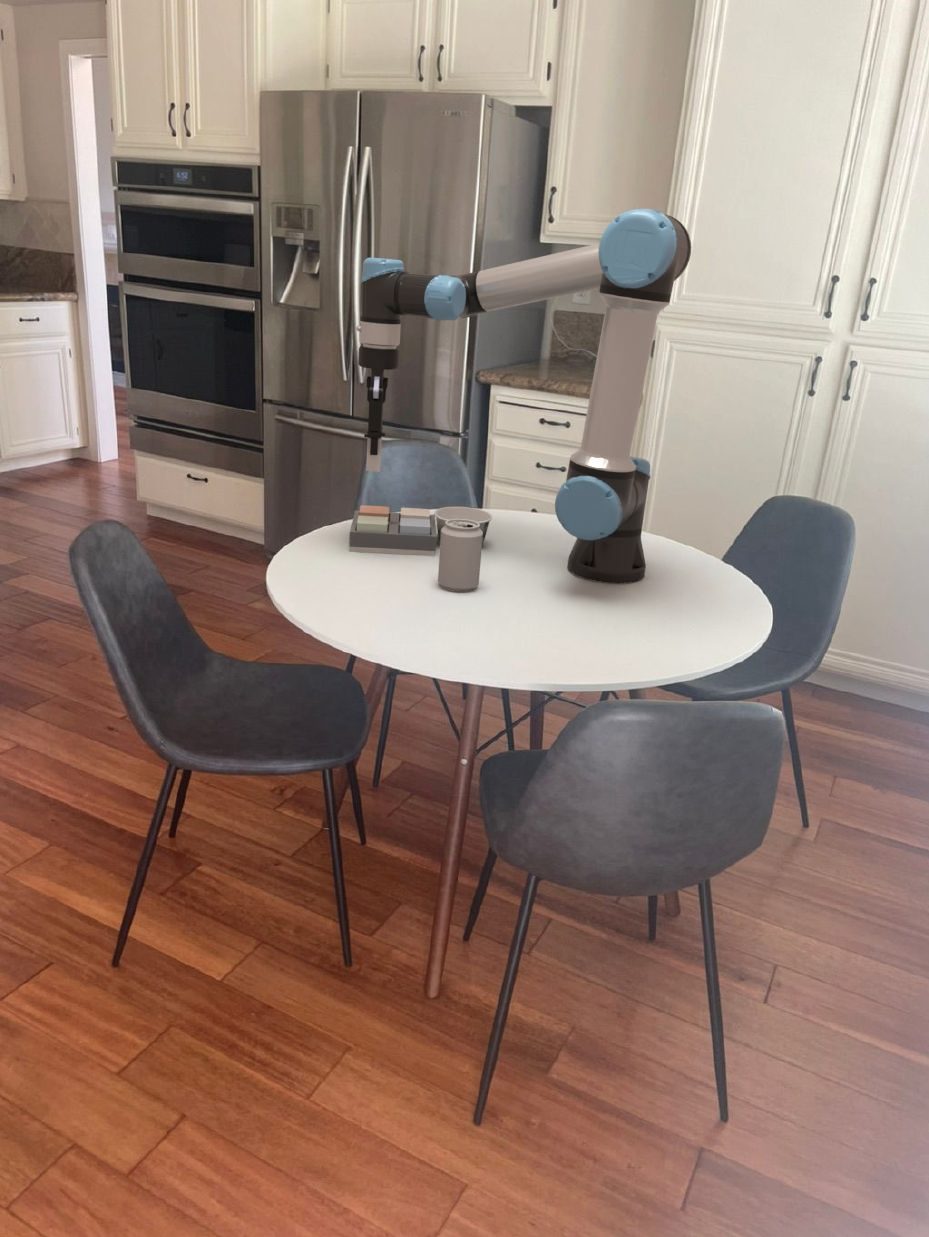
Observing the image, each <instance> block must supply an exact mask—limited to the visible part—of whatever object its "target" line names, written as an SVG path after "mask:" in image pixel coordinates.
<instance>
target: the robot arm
mask: <svg viewBox="0 0 929 1237" xmlns="http://www.w3.org/2000/svg"><path fill="white" fill-rule="evenodd" d="M691 255H692V241H691V238H690V234H689V232H688V230H687V228H686V227H685V225H684V224H683V223H682V222H681V221H679V219H678V218H675V217H674V216H671V215H668V214H665V213H663V212H661V211H659V210H655V209H652V208H636V209H635V208H634V209H631V210H630V209H629V210H627V211H625V212H623V213H621V214H619V215H618V216H616V217H615V218H614V219H612V220H611V222H609V224H608V225H607V226H606V228H605V230H604V232H603V233H602V235H601V237H600V240H599V243H594V244H590V245H587V246H583V247H582V246H581V247H577V248H574V249H572V248H571V249H569V250H565V251H559V252H556V253H555V252H554V253H552V254H547V255H544V256H538V257H535V258H529V259H525V260H521V261H517V262H513V263H508V264H504V265H500V266H496V267H491V268H487V269H483V270H479V271H472V272H468V273H464V274H459V275H458V274H457V275H448V274H447V275H446V274H432V273H431V274H429V273H417V272H416V273H415V272H407V271H405V268H404V267H405V265H404V262H403V261H402V260H401V259H394V258H393V259H391V258H380V257H379V258H378V257H367V258H365V260H364V261H363V263H362V272H361V281H360V285H361V287H360V289H361V290H360V291H361V292H360V317H359V318H360V319H359V320H360V321H359V324H360V325H357V326H356V331H357V332H360V333H359V342H360V344H362V345H360V346H359V347H358V361H357V363H358V366H359V367H361V368H363V369H364V368H365V369H371V372H370V374H371V375H370V376H368V375H367V377H366V388H367V395H366V396H367V398H366V399H367V402H368V421H367V422H368V424H367V426H368V427H367V431H366V432H367V433H364V436H363V437H364V438H366V439H367V443H366V465H365V468H366V469H365V471H366V472H378V473H379V472H381V463H382V442H383V441H382V440H383V437H386V432H383V416H384V415H383V414H384V413H383V412H384V403H385V402H386V398H387V388H388V384H389V377H385V370H388V371H391V370H396V369H398V367H399V358H400V356H399V355H400V351H399V349H398V348H397V347H398V346H400V344H401V328H402V327H401V318H402V316H406V317H407V316H409V317H415V318H421V319H423V318H424V319H430V320H435V321H439V322H441V321H450V322H451V321H456V320H458V319H459V318H461V319H467V318H471V317H475V316H477V315H479V314H483V313H487V312H491V311H492V312H493V311H498V310H502V309H507V308H511V307H517V306H521V305H522V306H523V305H526V304H532V303H536V302H541V301H546V300H550V299H551V300H552V299H556V298H562V297H565V296H572V295H574V294H579V293H580V294H581V293H585V292H586V293H587V292H590V291H595V290H598V289H599V290H598V291H599V293H598V295H599V296H600V298H601V299H602V301H603V303H604V305H605V310H604V315H603V322H602V326H601V327H602V328H601V332H600V338H599V344H598V349H597V354H596V359H595V366H594V370H593V371H594V372H593V378H592V382H591V388H590V394H589V400H588V404H587V405H588V406H587V411H586V417H585V422H584V429H583V433H582V440H581V444H580V448H579V449H578V450H577V451H575V452H574V453H573V454H571V455H570V457H569V463H568V468H567V474H566V480H565V482H564V483H563V484H562V485H561V486H560V489H558V492H557V493H556V496H555V502H554V503H555V504H554V511H555V514H556V518H557V521H558V522H559V523H560V525H561V527H562V528H563V529H564V530H565V531H566V532H567V533H568V534H570V535H571V536H573V537H574V538H576V539H575V542H574V545H573V546H572V549H571V551H570V553H569V555H568V560H567V570H568V571H569V572H570V573H571V574H573V575H575V576H577V577H579V578H582V579H585V580H589V581H594V582H599V583H606V584H631V583H636V582H640V581H642V580H644V578H645V576H646V568H647V566H646V565H647V563H646V559H645V553H644V548H643V542H642V530H643V524H644V519H645V518H644V517H645V511H646V504H647V497H648V491H649V484H650V479H651V464H650V461H648V460H647V459H644V458H641V457H636V456H630V454H631V449H632V444H633V440H634V434H635V430H636V425H637V421H638V420H637V419H638V414H639V410H640V409H639V408H640V404H641V399H642V394H643V391H644V390H643V389H644V385H645V381H646V380H645V379H646V374H647V369H648V365H649V359H650V356H651V355H650V353H651V350H652V344H653V339H654V334H655V328H656V324H657V319H658V315H659V313H660V312H661V311H662V310H663V309H665V308H666V307H667V306H669V305H670V302H671V298H672V297H671V296H672V291H673V288H674V282H675V281H677V279H678V278H680V276H682V275H683V273H684V271H685V270H686V269H687V266H688V265H689V262H690V258H691Z"/></svg>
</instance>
